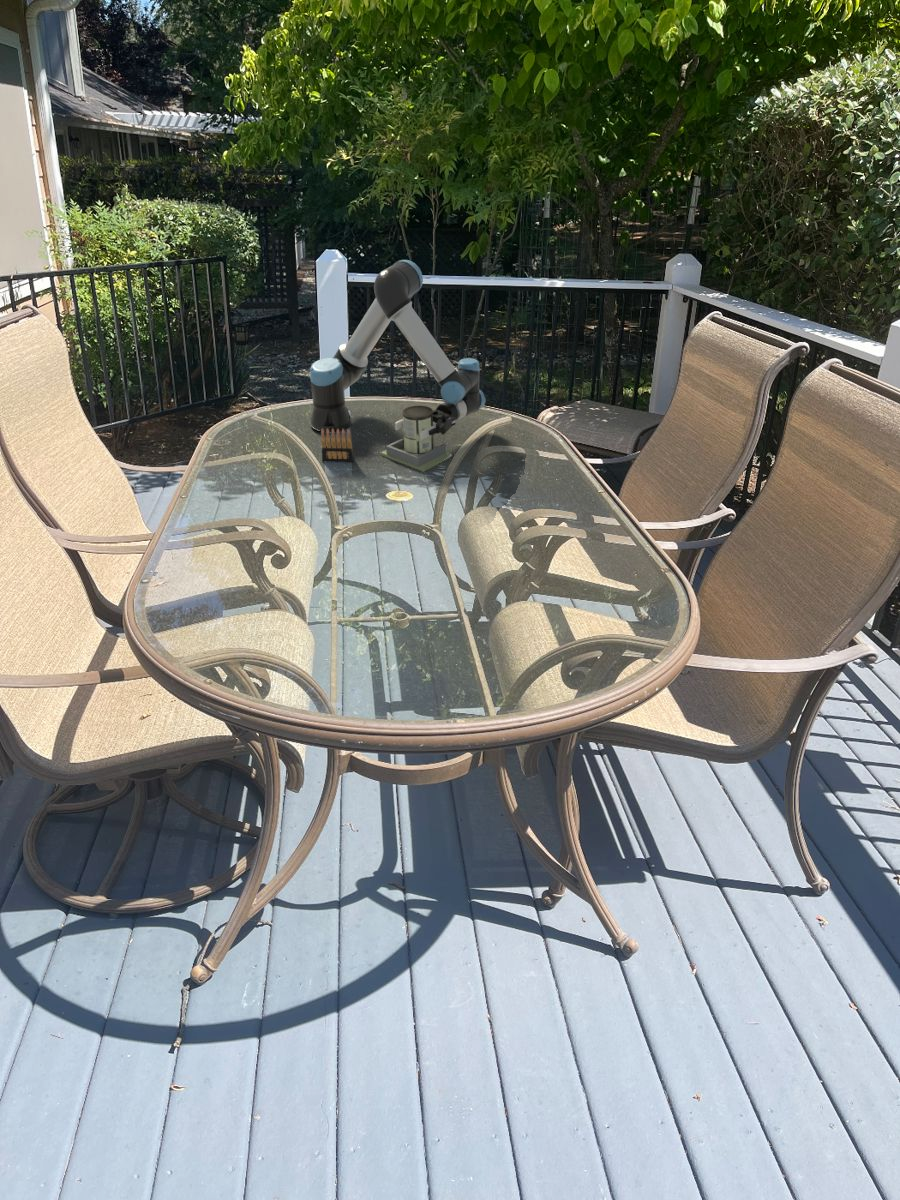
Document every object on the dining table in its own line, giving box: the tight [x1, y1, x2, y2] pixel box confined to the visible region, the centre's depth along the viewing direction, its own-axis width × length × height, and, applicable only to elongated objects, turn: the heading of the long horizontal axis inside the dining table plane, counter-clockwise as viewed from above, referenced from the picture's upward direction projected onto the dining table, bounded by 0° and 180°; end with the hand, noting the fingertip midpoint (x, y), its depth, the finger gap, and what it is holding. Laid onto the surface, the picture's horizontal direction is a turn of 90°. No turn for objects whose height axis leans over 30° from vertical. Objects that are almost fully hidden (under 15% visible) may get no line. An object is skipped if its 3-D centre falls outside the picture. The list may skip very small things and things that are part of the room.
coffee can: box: [402, 405, 435, 456], centre depth 299 cm, size 10×10×14 cm
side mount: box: [379, 437, 449, 473], centre depth 303 cm, size 20×15×4 cm
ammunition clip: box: [320, 428, 355, 463], centre depth 298 cm, size 11×2×12 cm, turn 87°
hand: (408, 431), depth 296 cm, fingers open, 11 cm apart
